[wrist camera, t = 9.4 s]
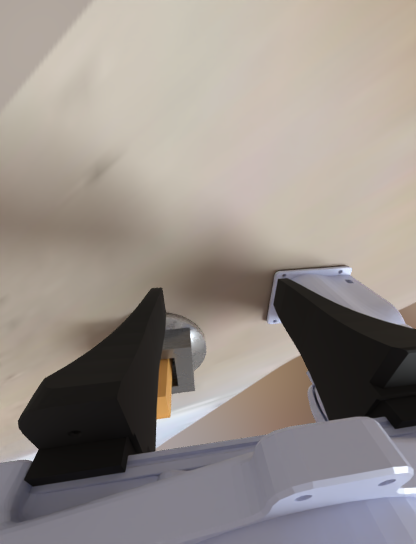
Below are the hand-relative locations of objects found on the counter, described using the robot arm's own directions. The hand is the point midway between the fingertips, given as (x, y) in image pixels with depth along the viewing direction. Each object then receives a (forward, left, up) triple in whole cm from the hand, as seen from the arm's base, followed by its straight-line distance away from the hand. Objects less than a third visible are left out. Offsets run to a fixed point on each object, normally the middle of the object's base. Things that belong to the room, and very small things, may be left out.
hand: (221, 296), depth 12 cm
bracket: (+7, +15, -9) cm, 19 cm away
